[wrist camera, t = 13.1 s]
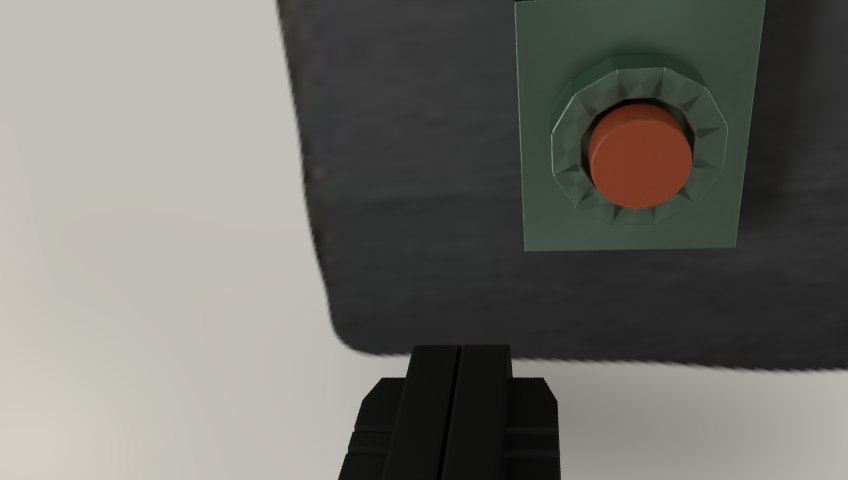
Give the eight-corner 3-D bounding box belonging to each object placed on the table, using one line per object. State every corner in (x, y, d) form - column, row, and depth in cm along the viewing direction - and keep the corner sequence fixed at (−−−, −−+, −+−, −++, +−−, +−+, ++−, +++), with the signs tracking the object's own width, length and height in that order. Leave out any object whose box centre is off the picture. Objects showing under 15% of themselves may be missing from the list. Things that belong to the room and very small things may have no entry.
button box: (515, -11, 30) (512, 13, 26) (753, -29, 28) (782, -6, 25) (524, 228, 35) (523, 273, 32) (724, 223, 34) (745, 271, 30)
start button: (588, 105, 28) (591, 121, 26) (687, 99, 27) (696, 116, 26) (587, 190, 30) (590, 210, 28) (681, 187, 29) (688, 208, 28)
